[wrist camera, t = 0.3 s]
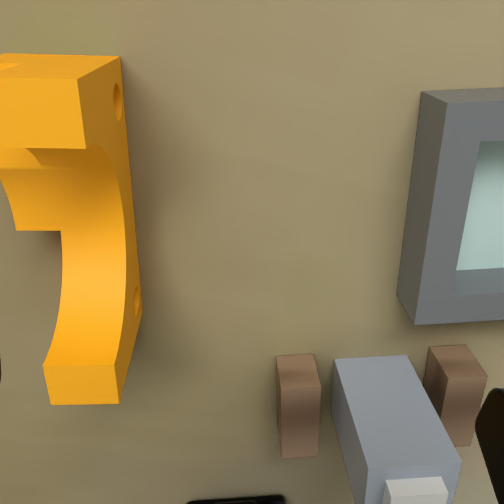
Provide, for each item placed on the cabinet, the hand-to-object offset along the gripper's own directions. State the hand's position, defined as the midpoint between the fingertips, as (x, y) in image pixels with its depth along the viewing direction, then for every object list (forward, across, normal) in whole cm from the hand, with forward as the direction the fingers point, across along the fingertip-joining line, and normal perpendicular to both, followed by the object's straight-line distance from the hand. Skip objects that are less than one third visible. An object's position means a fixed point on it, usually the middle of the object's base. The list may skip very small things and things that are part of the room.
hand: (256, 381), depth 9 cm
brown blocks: (+14, -9, +12) cm, 20 cm away
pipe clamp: (+14, +6, +3) cm, 16 cm away
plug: (+14, -9, +12) cm, 20 cm away
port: (+14, -13, 0) cm, 19 cm away
